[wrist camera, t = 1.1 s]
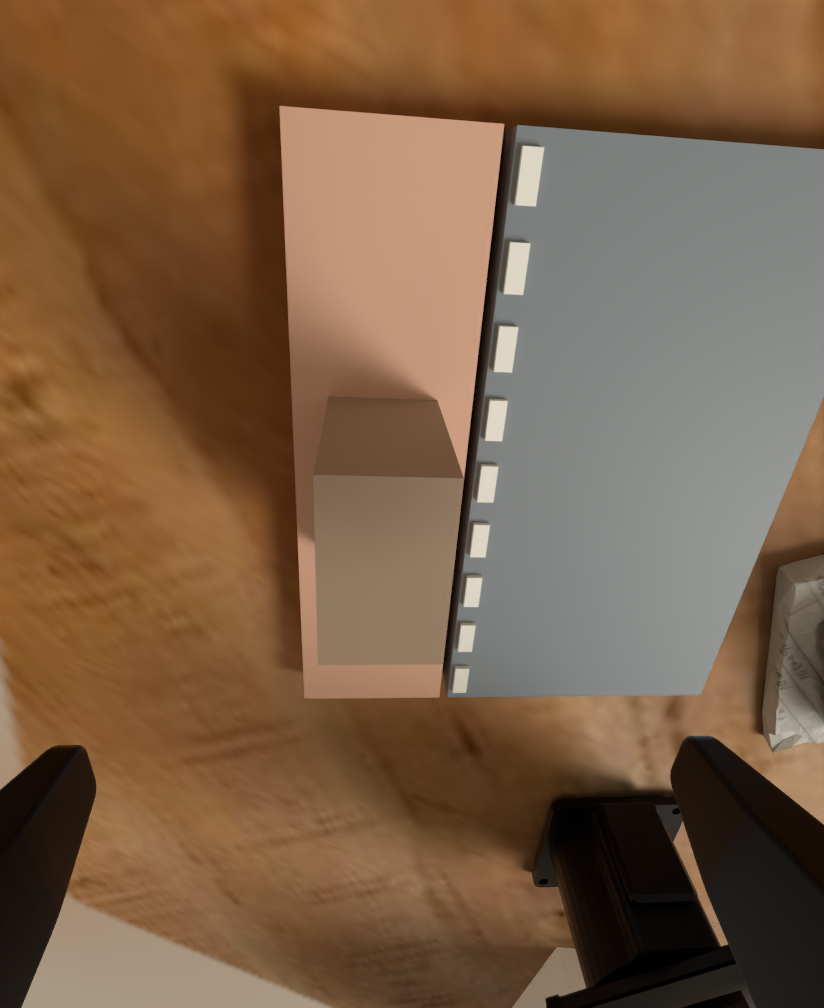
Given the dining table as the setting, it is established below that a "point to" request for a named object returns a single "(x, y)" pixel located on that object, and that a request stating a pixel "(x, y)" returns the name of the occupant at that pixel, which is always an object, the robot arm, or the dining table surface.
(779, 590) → the packaged product
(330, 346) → the stub
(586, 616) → the board
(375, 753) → the dining table surface
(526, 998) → the milk
